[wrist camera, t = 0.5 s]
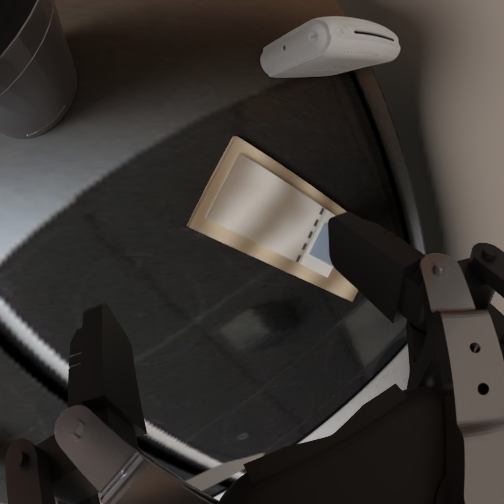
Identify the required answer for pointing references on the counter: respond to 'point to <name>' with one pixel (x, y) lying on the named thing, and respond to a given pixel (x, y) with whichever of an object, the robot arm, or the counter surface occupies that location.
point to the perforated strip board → (265, 213)
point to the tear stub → (319, 248)
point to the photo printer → (329, 48)
